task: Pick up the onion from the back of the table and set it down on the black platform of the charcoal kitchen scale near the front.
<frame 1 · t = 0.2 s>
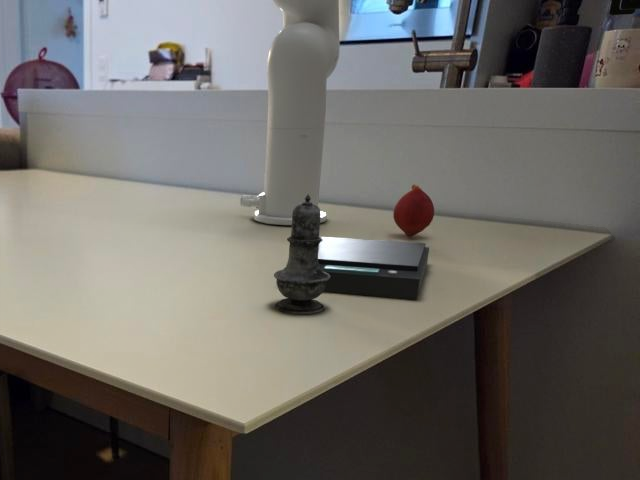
hand: (627, 11, 100), 31 cm above the table, tool pointing down, fingers open, 9 cm apart
salt shaker: (299, 309, 79), on the table
scale: (360, 273, 93), on the table
onion: (410, 238, 114), on the table
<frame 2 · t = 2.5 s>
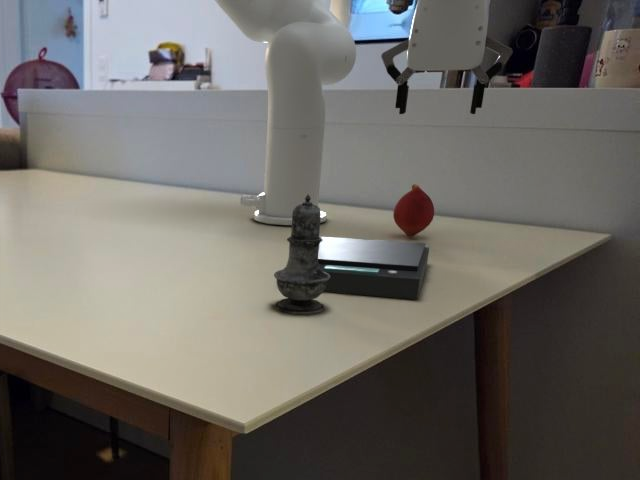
hand: (436, 113, 107), 18 cm above the table, tool pointing down, fingers open, 9 cm apart
nothing on the table moved.
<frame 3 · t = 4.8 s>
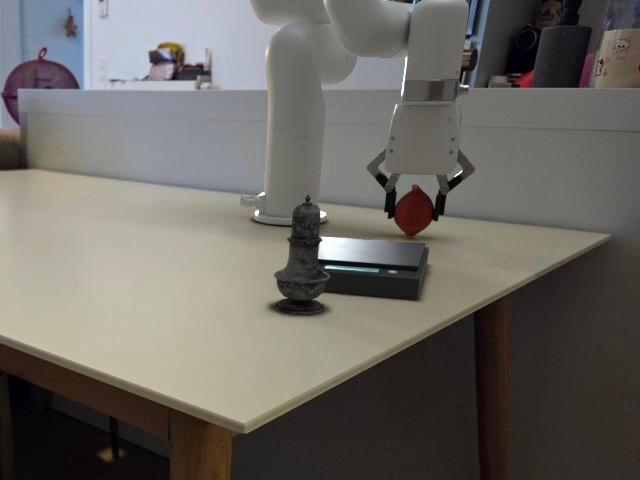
hand: (413, 217, 113), 3 cm above the table, tool pointing down, fingers closed on onion, 5 cm apart
onion: (410, 238, 114), on the table, touching gripper
everything else where it was.
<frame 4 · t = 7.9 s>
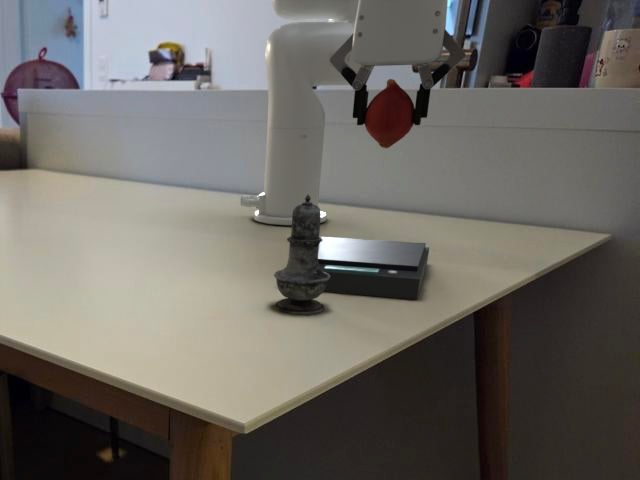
hand: (388, 123, 90), 18 cm above the table, tool pointing down, fingers closed on onion, 5 cm apart
onion: (385, 149, 91), point 15 cm above the table, touching gripper
everything else where it was.
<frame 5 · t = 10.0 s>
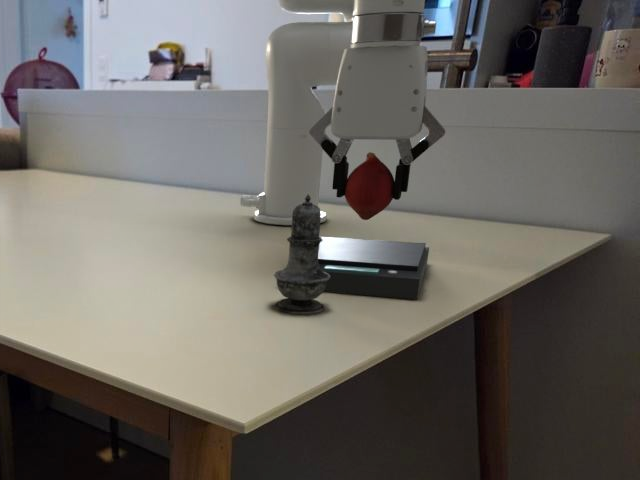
hand: (368, 195, 89), 10 cm above the table, tool pointing down, fingers closed on onion, 5 cm apart
onion: (366, 221, 90), point 7 cm above the table, touching gripper
everything else where it was.
when the fingers open (6 cm above the table, at t = 11.5 s): onion stays where it is, resting on scale.
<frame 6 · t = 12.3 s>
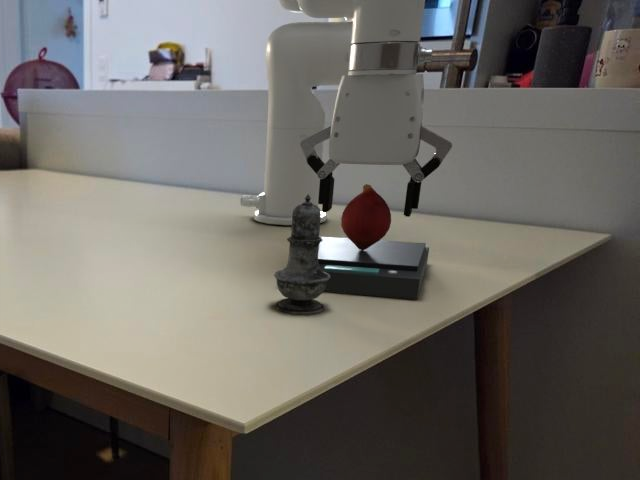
hand: (366, 212, 90), 8 cm above the table, tool pointing down, fingers open, 9 cm apart
onion: (362, 251, 92), point 3 cm above the table, touching scale
everything else where it was.
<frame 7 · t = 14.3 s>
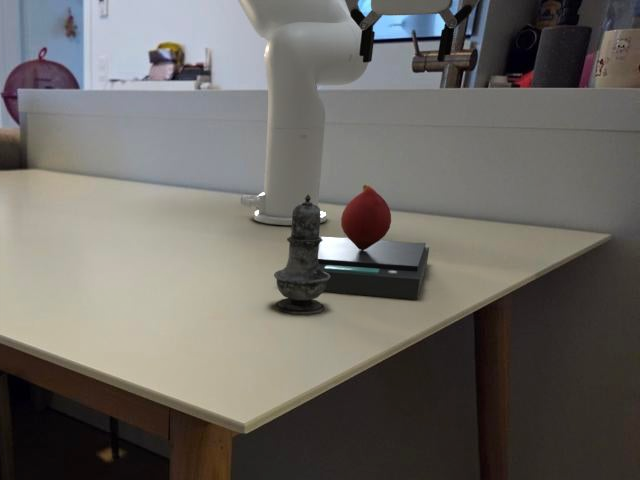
hand: (403, 62, 100), 25 cm above the table, tool pointing down, fingers open, 9 cm apart
nothing on the table moved.
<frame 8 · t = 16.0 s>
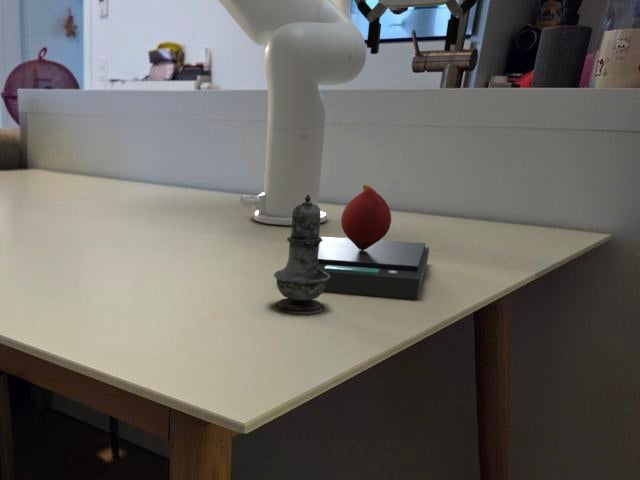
hand: (410, 52, 102), 26 cm above the table, tool pointing down, fingers open, 9 cm apart
nothing on the table moved.
at the end: onion inside the target area on the scale (0.1 cm from its centre), point 2.8 cm above the scale's base; the gripper is holding nothing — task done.
